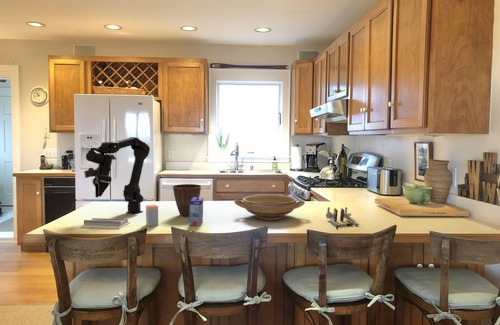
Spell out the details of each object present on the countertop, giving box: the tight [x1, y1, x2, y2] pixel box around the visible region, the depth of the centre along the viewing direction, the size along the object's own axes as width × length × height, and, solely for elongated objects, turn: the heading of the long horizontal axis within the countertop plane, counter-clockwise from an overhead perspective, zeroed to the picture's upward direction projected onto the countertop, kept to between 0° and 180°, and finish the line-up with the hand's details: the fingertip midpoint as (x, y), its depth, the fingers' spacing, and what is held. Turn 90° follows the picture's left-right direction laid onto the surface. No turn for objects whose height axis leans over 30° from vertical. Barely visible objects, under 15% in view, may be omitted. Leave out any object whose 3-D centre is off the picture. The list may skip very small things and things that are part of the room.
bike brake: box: [325, 206, 361, 231], centre depth 178 cm, size 14×7×20 cm
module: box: [145, 204, 159, 227], centre depth 174 cm, size 4×4×10 cm
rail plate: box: [80, 217, 131, 230], centre depth 174 cm, size 11×19×3 cm, turn 82°
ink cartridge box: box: [189, 193, 204, 227], centre depth 178 cm, size 10×6×14 cm, turn 179°
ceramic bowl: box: [233, 193, 305, 221], centre depth 192 cm, size 37×29×10 cm
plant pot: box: [172, 183, 202, 217], centre depth 197 cm, size 15×15×16 cm
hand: (98, 197), depth 179 cm, fingers open, 9 cm apart
